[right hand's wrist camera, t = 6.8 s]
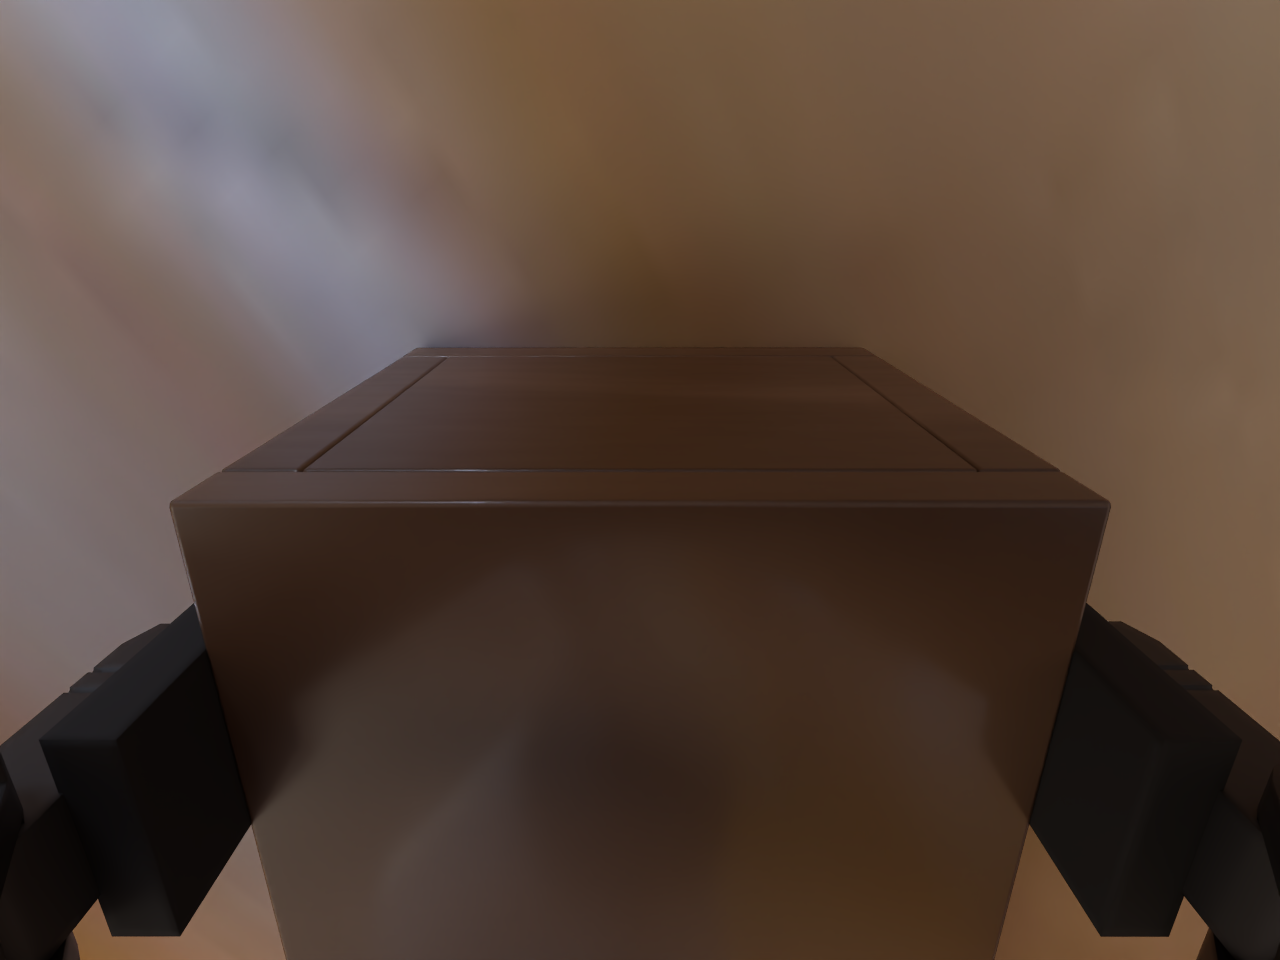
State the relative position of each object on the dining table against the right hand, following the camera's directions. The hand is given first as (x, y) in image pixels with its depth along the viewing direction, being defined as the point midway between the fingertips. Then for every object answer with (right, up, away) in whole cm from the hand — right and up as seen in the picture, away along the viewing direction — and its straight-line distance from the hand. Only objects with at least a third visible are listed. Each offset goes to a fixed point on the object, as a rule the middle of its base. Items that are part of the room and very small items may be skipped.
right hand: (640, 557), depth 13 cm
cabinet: (0, -5, +6) cm, 8 cm away
